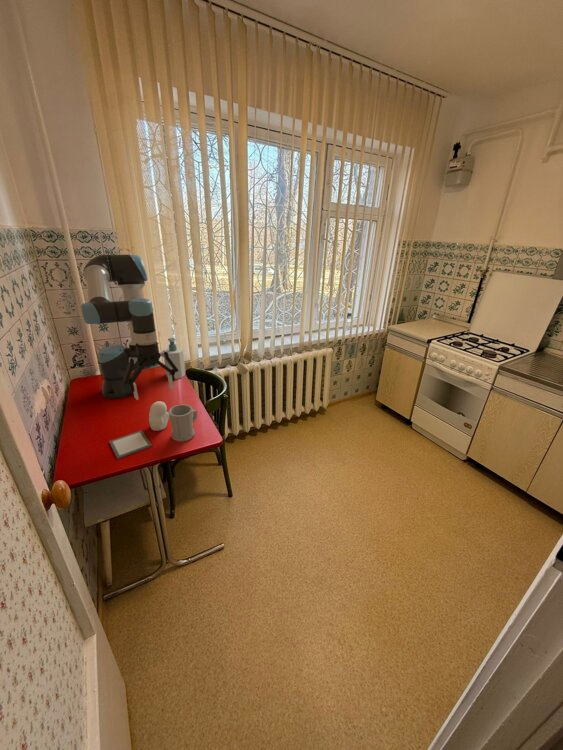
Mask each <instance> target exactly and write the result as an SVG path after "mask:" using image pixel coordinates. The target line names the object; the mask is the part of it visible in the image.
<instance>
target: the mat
mask: <svg viewBox="0 0 563 750" xmlns="http://www.w3.org/2000/svg"><path fill="white" fill-rule="evenodd" d="M108 442H109V445H110V446H111V448H112V451H113V453H114V454H115V457H116V459H117V460H120V459H123V458H126V457H127V456H130V455H132V454H136V453H138V452H141V451H143V450H146V449H149V448H151V447H153V446H152V444H151V441H149V439H148V438H147V436H146V435H145V433H144V432H143V430H139V431H136V432H132V433H130V434H126V435H123V436H120V437H118V438H115V439H112V440H109V441H108Z"/></svg>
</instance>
